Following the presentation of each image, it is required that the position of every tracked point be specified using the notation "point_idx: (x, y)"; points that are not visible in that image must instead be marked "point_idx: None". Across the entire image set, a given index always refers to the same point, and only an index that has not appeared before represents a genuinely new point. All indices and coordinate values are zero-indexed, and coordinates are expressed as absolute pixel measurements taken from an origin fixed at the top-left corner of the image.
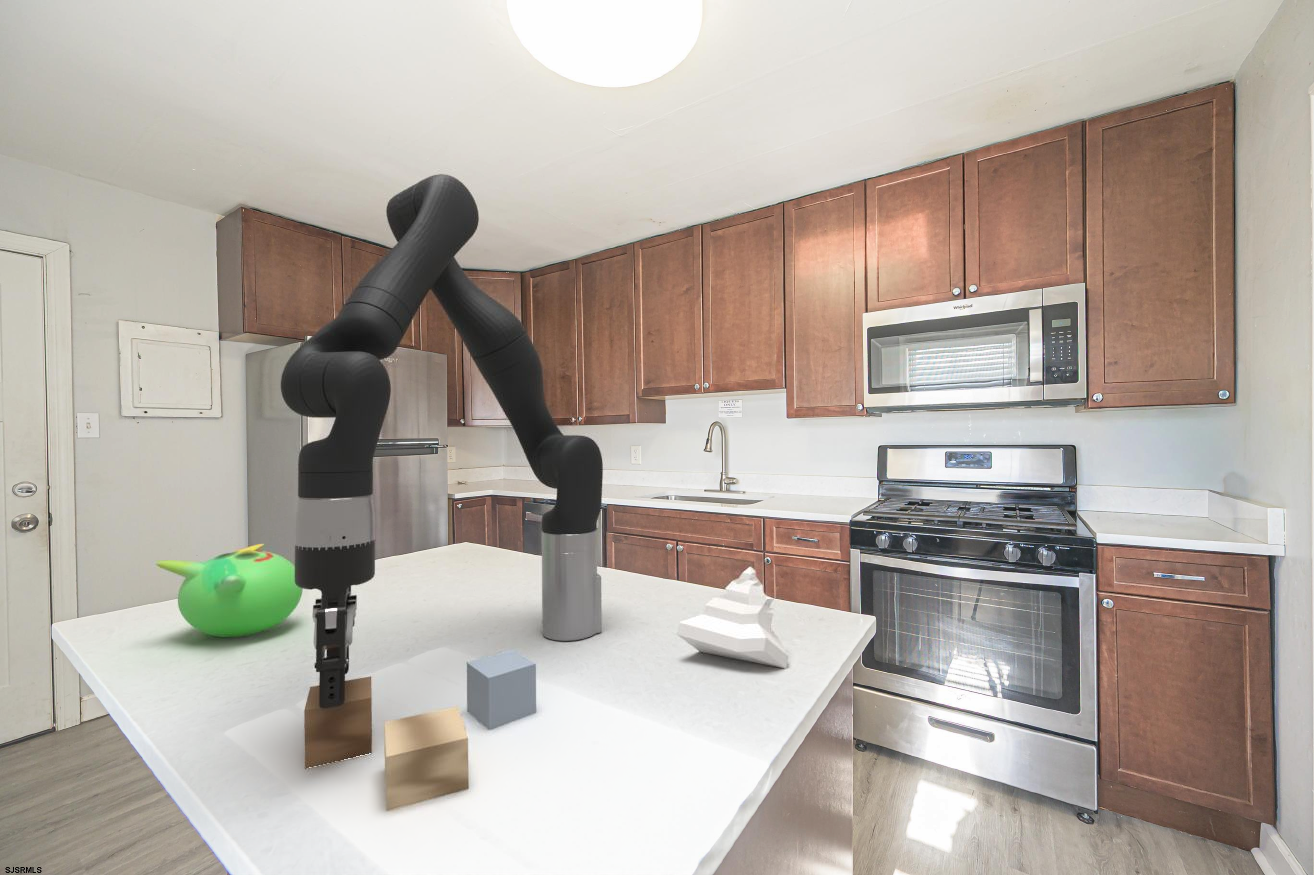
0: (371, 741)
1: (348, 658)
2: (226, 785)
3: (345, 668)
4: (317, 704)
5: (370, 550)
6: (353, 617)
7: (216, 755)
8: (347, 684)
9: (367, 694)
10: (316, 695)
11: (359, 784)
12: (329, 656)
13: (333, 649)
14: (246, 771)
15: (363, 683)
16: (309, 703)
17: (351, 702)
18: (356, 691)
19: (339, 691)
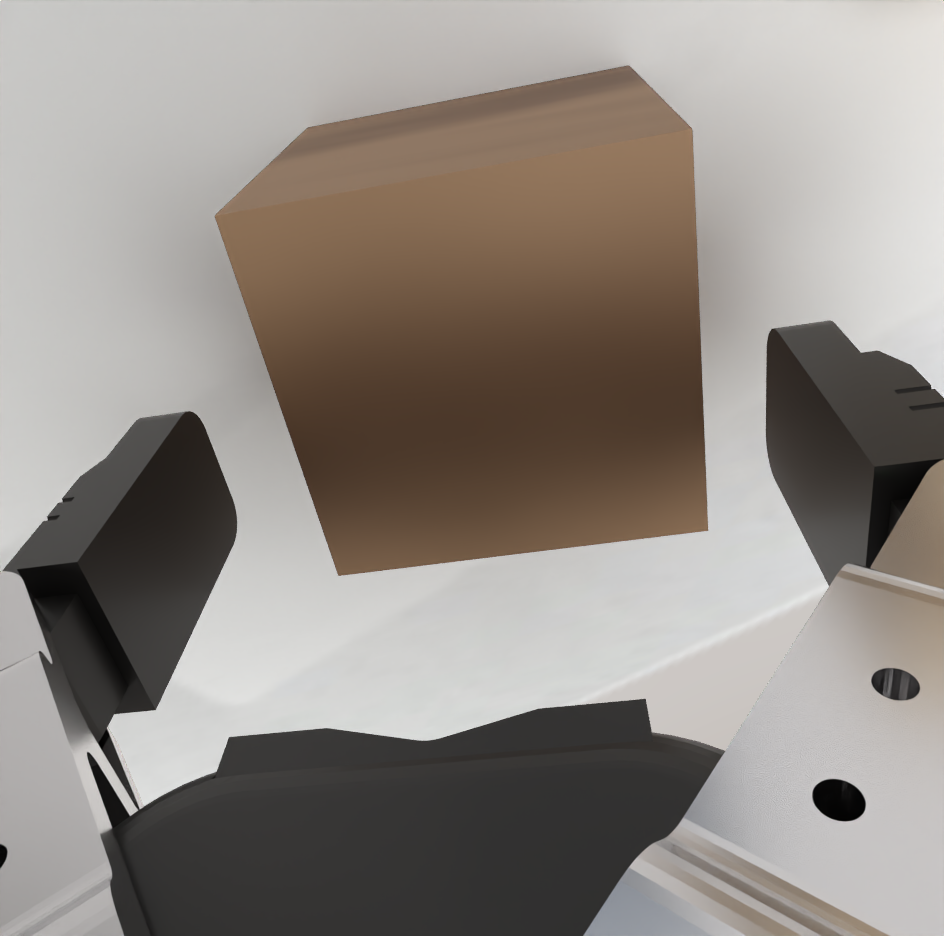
0: (637, 76)
1: (144, 465)
2: (657, 593)
3: (186, 442)
4: (651, 480)
5: None
6: (758, 883)
7: (416, 678)
8: (353, 367)
9: (611, 173)
10: (492, 515)
11: (937, 70)
12: (188, 611)
13: (155, 627)
14: (577, 563)
15: (364, 251)
16: (608, 525)
17: (692, 272)
18: (518, 275)
19: (907, 390)
